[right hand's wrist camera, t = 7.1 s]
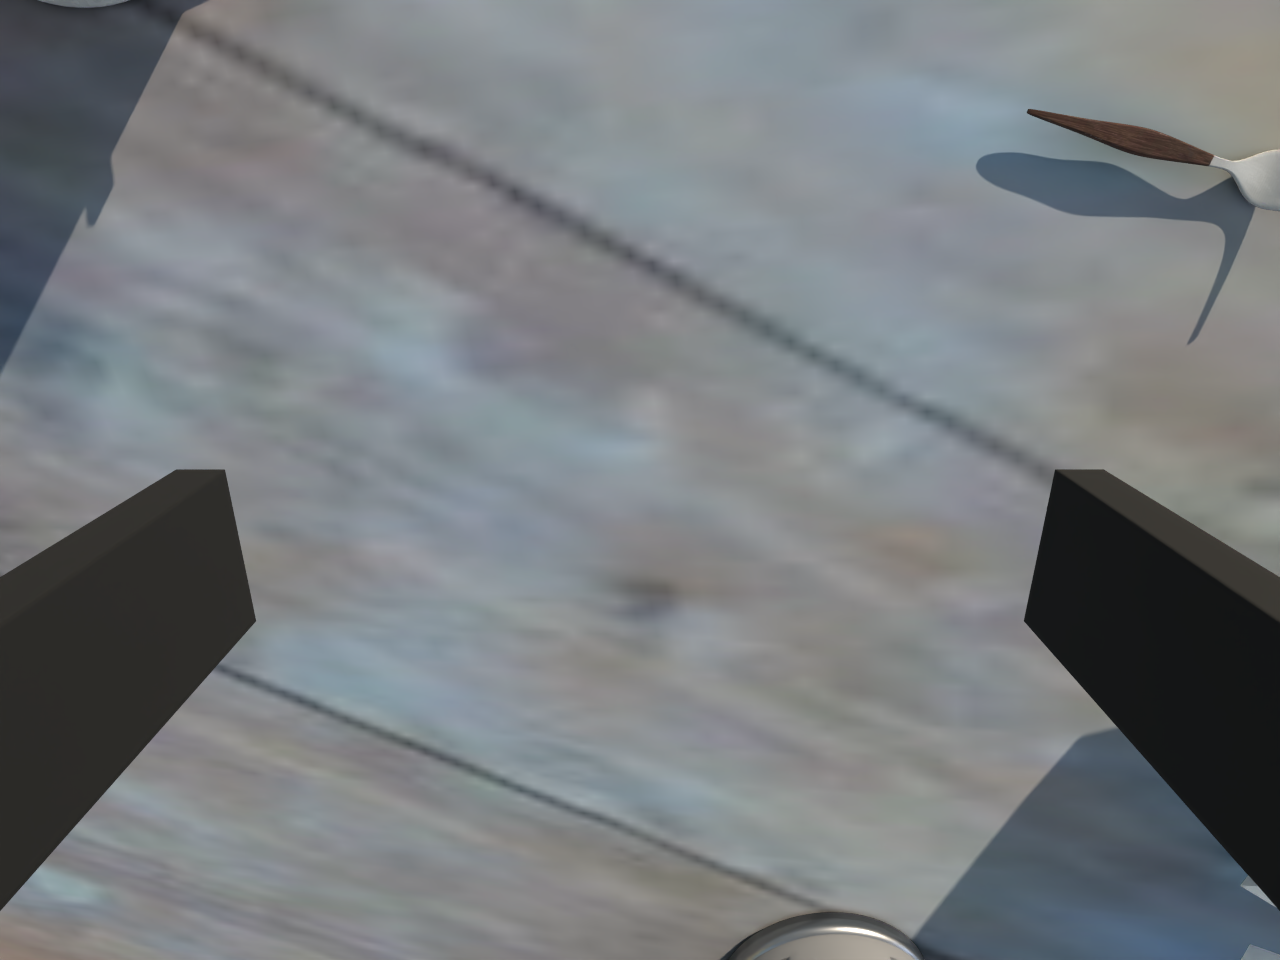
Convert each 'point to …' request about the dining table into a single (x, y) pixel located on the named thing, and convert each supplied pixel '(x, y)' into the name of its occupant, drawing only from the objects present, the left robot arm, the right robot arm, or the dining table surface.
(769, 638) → the dining table surface
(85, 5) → the left robot arm
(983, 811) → the dining table surface
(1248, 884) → the white plastic object
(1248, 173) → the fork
